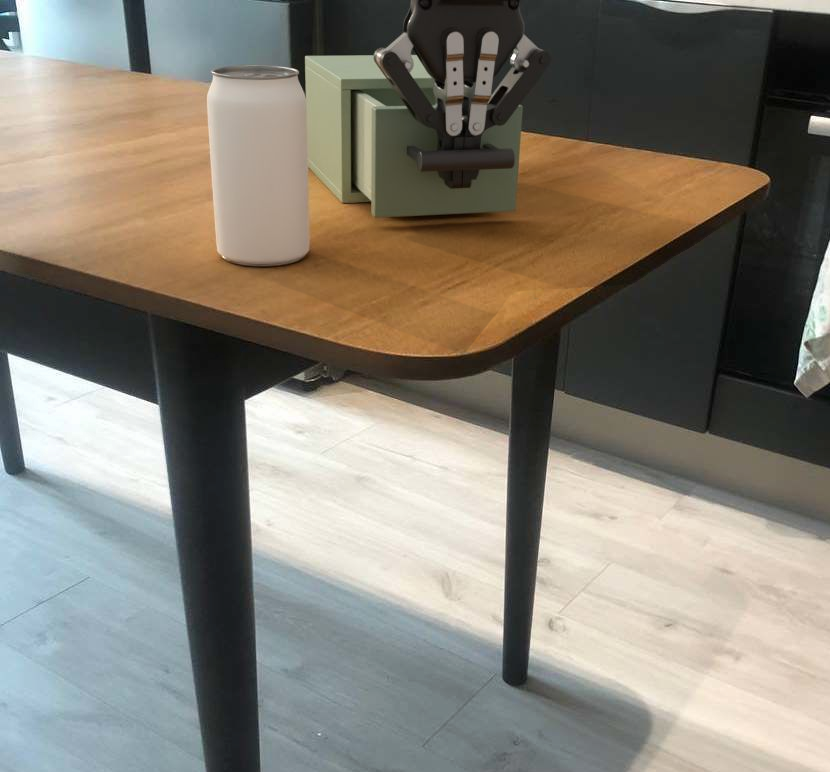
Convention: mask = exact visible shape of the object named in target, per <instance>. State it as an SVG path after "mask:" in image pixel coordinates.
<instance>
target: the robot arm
mask: <svg viewBox="0 0 830 772" xmlns="http://www.w3.org/2000/svg"><path fill="white" fill-rule="evenodd" d="M520 2H521V0H410V6H409V9H408V12H407V14H406V16H405V18H404V20H403V25H402V31H403V32H402V33H401V35H399V36H398V37H397V38H396V39H395V40H393V41H392V42H391V43H390V44H389V45H388V46H386V47H379V48H376V50H375V51H374V53H373V55H374V61H375V63H376V64H377V66H378V67H379V69H380V70H381V72H382V73H383V74H384V76H385V77H386V79H387V80H388V81H389V83H390V84H391V86H392V87H393V89H394V90H395V91H396V93H397V94H398V96H399V97H400V98H401V100H402V101H403V103H404V104H405V106H406V107H407V108H408V110H409V111H410V113H411V114H412V116H413V117H414V118H415V119H416V120H417V121H419V122H420V123H422V124H423V125H425V126H427V127H430V128H433V129H435V130H436V131H437V134H438V146H437V151H440V150H472V149H480V145H481V136H482V134H483V132H484V131H485V130H486V129H488V128H490V127H493V126H495V125H498V126H502V125H504V124H505V123H506V122H507V121H508V119H509V118H510V117H511V115H512V114H513V113H514V111H515V110H516V109H517V107H518V106H519V105H521V103H522V102H523V101H524V99H525V98H526V97H527V96H528V94H529V93H530V91H531V90H532V89H533V87H534V86H535V85H536V83H537V82H538V80H539V79H540V78H541V76H542V75H543V74H544V72H545V71H546V70H547V69H548V67H549V66H550V64H551V62H552V61H551V60H552V57H551V54H550V53H549V52H548V51H546V50H543V49H542V48H539V47H538V46H537V45H536V44H535V43H534V42H533V41H532V40H531V39H529V37H527V36H526V34H525V29H526V28H525V22H524V19H523V17H522V14H521V10H520ZM412 51H413V52H414V55H417V57H418V58H419V60H420V62H421V63H422V65H423V66H424V68H425V70H426V71H427V73H428V74H429V75H430V76H431V77H432V78H433V93H434V96H435V103H436V109H434V108H433V106H432V105H431V103H430V102H429V100H428V99H427V97H426V96H425V94H424V93H423V92H422V90H421V89H420V87H419V86H418V84H417V83H416V81H415V80H414V78H413V77H412V76H411V74H410V72H411V71H412V69H413V67H414V62H413V59H412V57H411V55H412ZM510 56H511V57H510ZM509 58H510V60H509ZM508 60H509V64H510V67H511V68H510V69H509V71H508V72H507V73H506V74H505V76H504V78H503V79H502V80H501V81H500V83H499V84H498V86H497V87H496V88H495V90H493V93H492V89H493V81H494V78H495V77H496V76H497V75H498V74H499V72H500V71H501V69H503V67H504V65H505V64H506V62H507V61H508ZM437 172H438V175H439V177H440V178H442V179H443V180H444V183H445V185H446V186H448V187H449V188H450V189H458V188H470V187H471V180H476V179H477V176H478V174H479V170H459V171H437Z"/></svg>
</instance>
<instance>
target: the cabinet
mask: <svg viewBox="0 0 830 772" xmlns="http://www.w3.org/2000/svg"><path fill="white" fill-rule="evenodd" d="M411 57H412V59H413V62H414V67H413V69H412V71H411V72H410V74H411V76H412V77H413V78H414V80H415V81H416V83H417V84H418V86H419V87H420V88H433V78H432V77H431V76H430V75H429V74H428V73H427V71H426V70H425V68H424V66H423V65H422V63H421V62H420V60H419V58H418V57H417V55H416V54H411ZM304 72H305V73H304V74H305V75H304V76H305V98H306V113H307V147H308V169H309V170H310V171H312V173H313V174H314V175H315V176H316V177H317V178H318V179H319V180H320V181H321V182H322V184H324V186H325V187H326V188H327V189H328V190H329V191H330V192H331V193H332V194H333V196H335V198H337V199H338V200H339V202H341V204H351V203H352V204H353V203H371V200H370V199H369V198H368V197H367V196H366V195H365V194H364V193H362V192H361V191H360V190H359V189H358V188H357V187H356V186H355V185H354V184H353V183H352V182H351V90H350V89H393V87H392V86H391V84H390V83H389V81H388V80H387V79H386V77H385V76H384V74H383V73H382V72H381V70H380V69H379V67H378V66H377V64H376V63H375V61H374V54H373V55H371V54H370V55H369V54H368V55H367V54H366V55H361V54H360V55H305V56H304Z"/></svg>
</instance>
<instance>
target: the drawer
mask: <svg viewBox="0 0 830 772" xmlns="http://www.w3.org/2000/svg"><path fill="white" fill-rule="evenodd" d="M420 89H421V90H422V92H423V93H424V94H425V96H426V97H427V99H428V100H429V102H430V103H431V105H432V106H433V108H434V109H436V103H435V96H434V93H433V88H420ZM350 90H351V182H352V183H353V184H354V185H355V186H356V187H357V188H358V189H359V190H360V191H361V192H362V193H364V194H365V195H366V196H367V197H368V198H369V199H370V200H371V202H370V203H371V205H370V209H371V210H370V212H371V213H370V214H371V215H372V217H374V218H375V219H377V218H378V219H379V218H397V217H418V216H419V217H420V216H422V217H423V216H442V215H461V214H481V213H482V214H483V213H501V212H502V213H503V212H505V213H506V212H516V210H517V195H518V183H519V181H518V180H519V168H520V166H519V165H520V153H521V152H520V150H521V138H522V137H521V136H522V124H523V123H522V122H523V111H524V110H523V109H524V106H523V105H522V104H520V105H519V106H518V107H517V109H516V110H515V111H514V113H513V114H512V115H511V117H510V118H509V119H508V121H507V122H506V123H505V124H504V125H502V126H498V125H495V126H493V127H490V128H488V129H486V130H485V131H484V132H483V134H482V136H481V145H480V149H472V150H440V151H437V146H438V134H437V131H436V130H435V129H433V128H430V127H427V126H425V125H423V124H422V123H420V122H419V121H417V120H416V119H415V118H414V117H413V116H412V114H411V113H410V111H409V110H408V108H407V107H406V106H405V104H404V103H403V101H402V100H401V98H400V97H399V96H398V94H397V93H396V91H395V90H394V89H350ZM459 170H479V174H478V176H477V179H476V180H471V187H470V188H458V189H450V188H449V187H448V186H446V185H445V183H444V180H443V179H442V178H440V177H439V175H438V172H437V171H459Z"/></svg>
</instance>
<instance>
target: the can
mask: <svg viewBox="0 0 830 772" xmlns="http://www.w3.org/2000/svg"><path fill="white" fill-rule="evenodd" d="M210 72H211V75H212V80H211V84H210V86H209V88H208V91H207V96H206V112H207V128H208V143H209V144H208V145H209V157H210V173H211V187H212V188H211V189H212V205H213V216H214V217H213V218H214V230H215V231H214V232H215V243H216V244H215V245H216V251H217V253H218V254H219V255H220V256H221V257H222V259H223V260H225V261H226V262H228V263H230V264H234V265H238V266H245V267H255V268H256V267H257V268H258V267H259V268H261V267H263V268H266V267H267V268H268V267H280V266H286V265H291V264H295V263H297V262H300V261H302V260H303V259H304V258H305V257H306V255H307V254H308V252H310V249H311V247H310V246H311V245H310V243H311V242H310V241H311V240H310V239H311V238H310V236H311V235H310V233H311V232H310V192H309V190H310V189H309V167H308V147H307V113H306V93H305V91H304V89H303V87H302V85H301V83H300V80H299V76H298V75H299V74H300V71H299V70H298V69H296V68H293V67H288V66H279V65H265V64H243V65H242V64H241V65H239V64H237V65H227V66H226V65H225V66H219V67H215V68H213V69H211V71H210Z"/></svg>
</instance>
